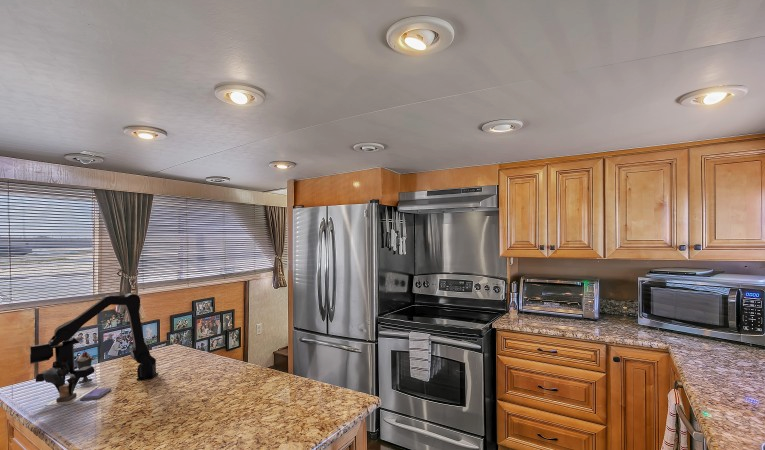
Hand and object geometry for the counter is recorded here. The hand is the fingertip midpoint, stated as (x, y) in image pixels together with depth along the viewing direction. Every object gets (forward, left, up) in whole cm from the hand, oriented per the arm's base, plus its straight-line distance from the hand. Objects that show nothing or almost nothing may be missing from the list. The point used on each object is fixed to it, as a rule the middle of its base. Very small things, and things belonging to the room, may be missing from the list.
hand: (66, 394), depth 148 cm
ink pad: (-10, -2, -2) cm, 10 cm away
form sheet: (0, -4, -2) cm, 5 cm away
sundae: (+6, -20, -2) cm, 21 cm away
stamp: (0, 0, -2) cm, 2 cm away
